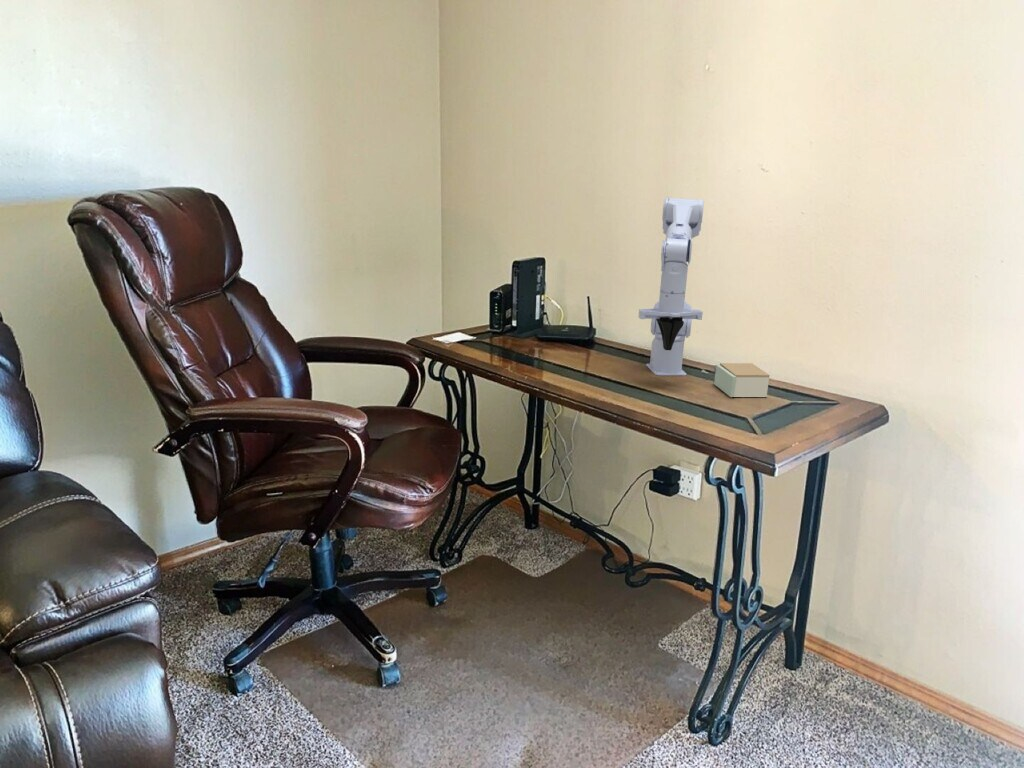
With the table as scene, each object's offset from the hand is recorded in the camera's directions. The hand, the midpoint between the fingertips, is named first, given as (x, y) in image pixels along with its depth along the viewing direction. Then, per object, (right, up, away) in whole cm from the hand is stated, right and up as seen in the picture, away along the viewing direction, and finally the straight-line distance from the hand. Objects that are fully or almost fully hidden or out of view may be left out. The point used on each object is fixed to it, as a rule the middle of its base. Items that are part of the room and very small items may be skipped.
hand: (667, 349), depth 184 cm
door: (+13, -9, +1) cm, 16 cm away
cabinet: (+18, -10, +2) cm, 21 cm away
